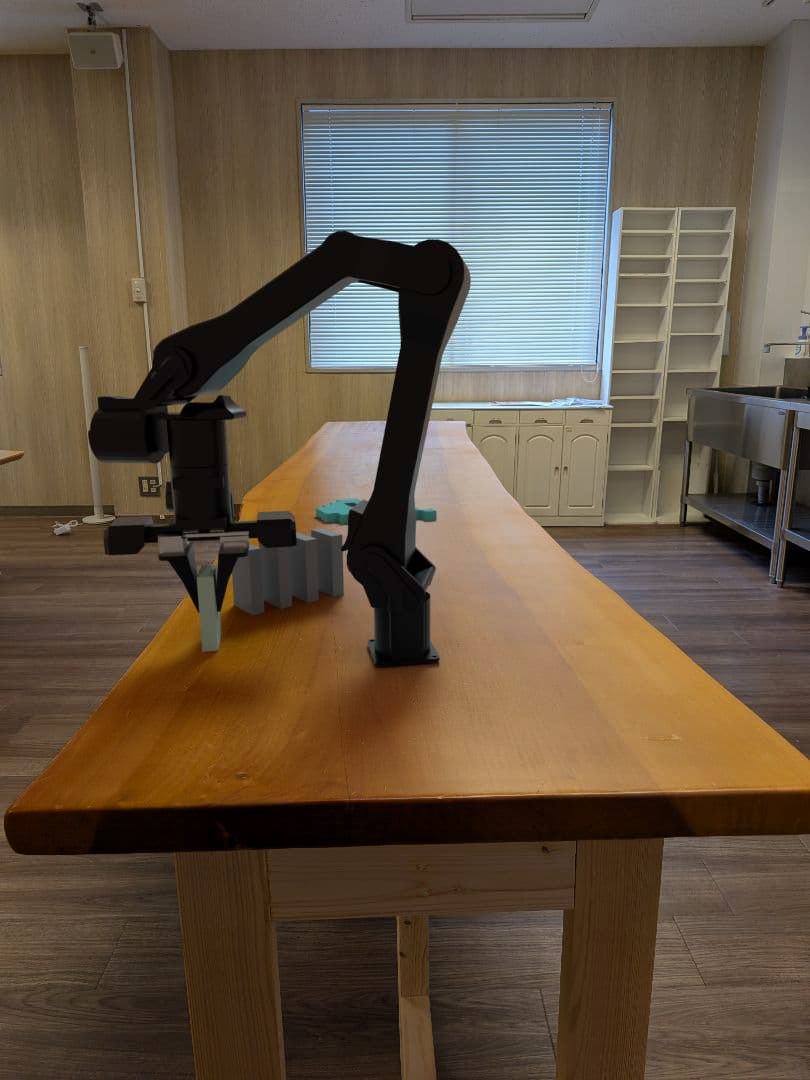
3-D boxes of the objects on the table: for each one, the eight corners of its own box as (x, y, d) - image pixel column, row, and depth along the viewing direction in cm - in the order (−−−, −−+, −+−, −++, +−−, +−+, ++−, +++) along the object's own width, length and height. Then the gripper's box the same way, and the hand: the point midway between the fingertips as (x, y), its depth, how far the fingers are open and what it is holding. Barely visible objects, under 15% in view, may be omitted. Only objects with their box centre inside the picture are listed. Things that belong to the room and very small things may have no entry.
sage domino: (221, 633, 80) (216, 564, 79) (218, 650, 76) (213, 576, 74) (206, 634, 80) (201, 564, 78) (202, 651, 75) (196, 577, 74)
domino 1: (252, 615, 86) (248, 550, 85) (233, 605, 90) (229, 542, 88) (264, 612, 87) (260, 548, 86) (245, 602, 91) (242, 540, 89)
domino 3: (307, 602, 91) (305, 540, 89) (288, 593, 95) (285, 533, 93) (318, 600, 92) (316, 538, 90) (298, 591, 96) (296, 532, 94)
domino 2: (280, 609, 89) (277, 545, 87) (261, 599, 93) (258, 538, 91) (292, 606, 90) (289, 543, 88) (272, 596, 94) (269, 536, 92)
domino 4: (333, 597, 93) (331, 536, 91) (313, 588, 97) (311, 529, 95) (343, 594, 94) (342, 534, 92) (323, 585, 98) (321, 527, 96)
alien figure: (394, 505, 158) (305, 513, 150) (394, 495, 158) (305, 502, 150) (436, 522, 141) (338, 532, 132) (436, 510, 140) (338, 520, 132)
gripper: (290, 453, 83) (296, 584, 86) (118, 457, 80) (131, 593, 83) (293, 465, 72) (299, 615, 76) (94, 471, 69) (111, 626, 73)
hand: (209, 611), depth 77 cm, fingers closed on sage domino, 2 cm apart
